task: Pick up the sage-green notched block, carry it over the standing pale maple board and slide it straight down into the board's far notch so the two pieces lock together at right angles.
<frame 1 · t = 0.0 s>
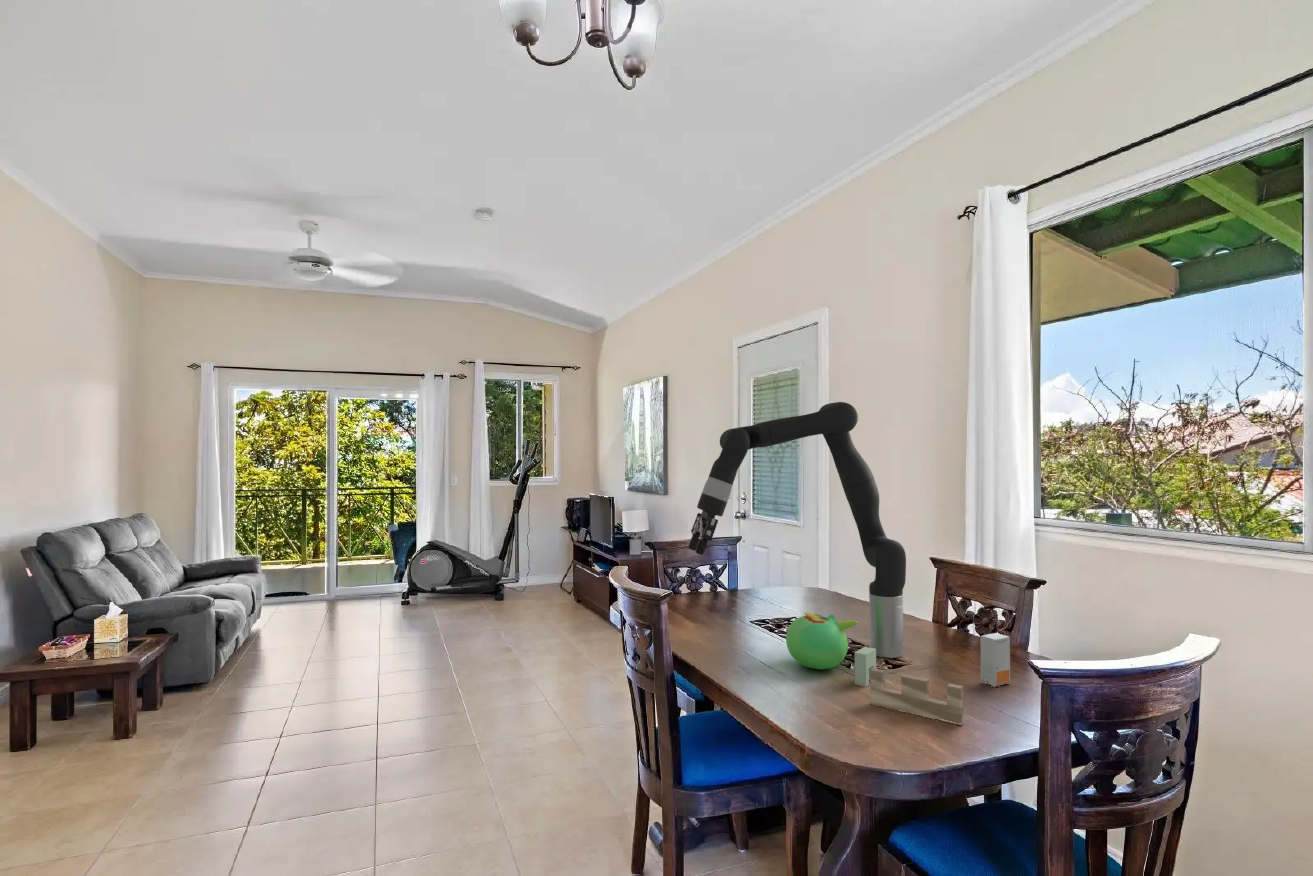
hand: (695, 551, 189), 31 cm above the table, tool tilted 20°, fingers open, 8 cm apart
notched block: (865, 682, 174), on the table
maple board: (915, 713, 154), on the table
toy bird: (818, 667, 187), on the table
skincare box: (995, 684, 172), on the table
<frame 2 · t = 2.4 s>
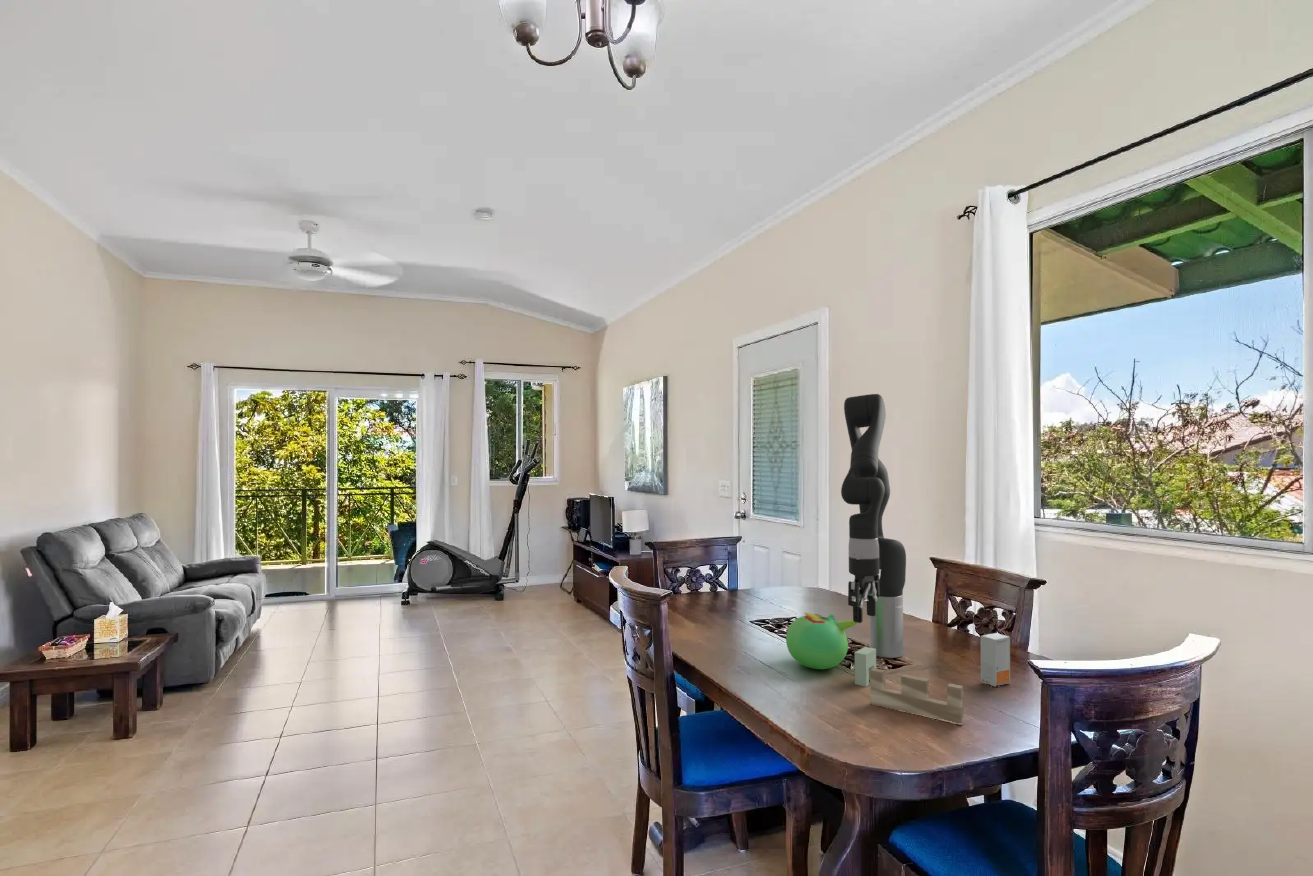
hand: (864, 619, 175), 16 cm above the table, tool pointing down, fingers open, 8 cm apart
nothing on the table moved.
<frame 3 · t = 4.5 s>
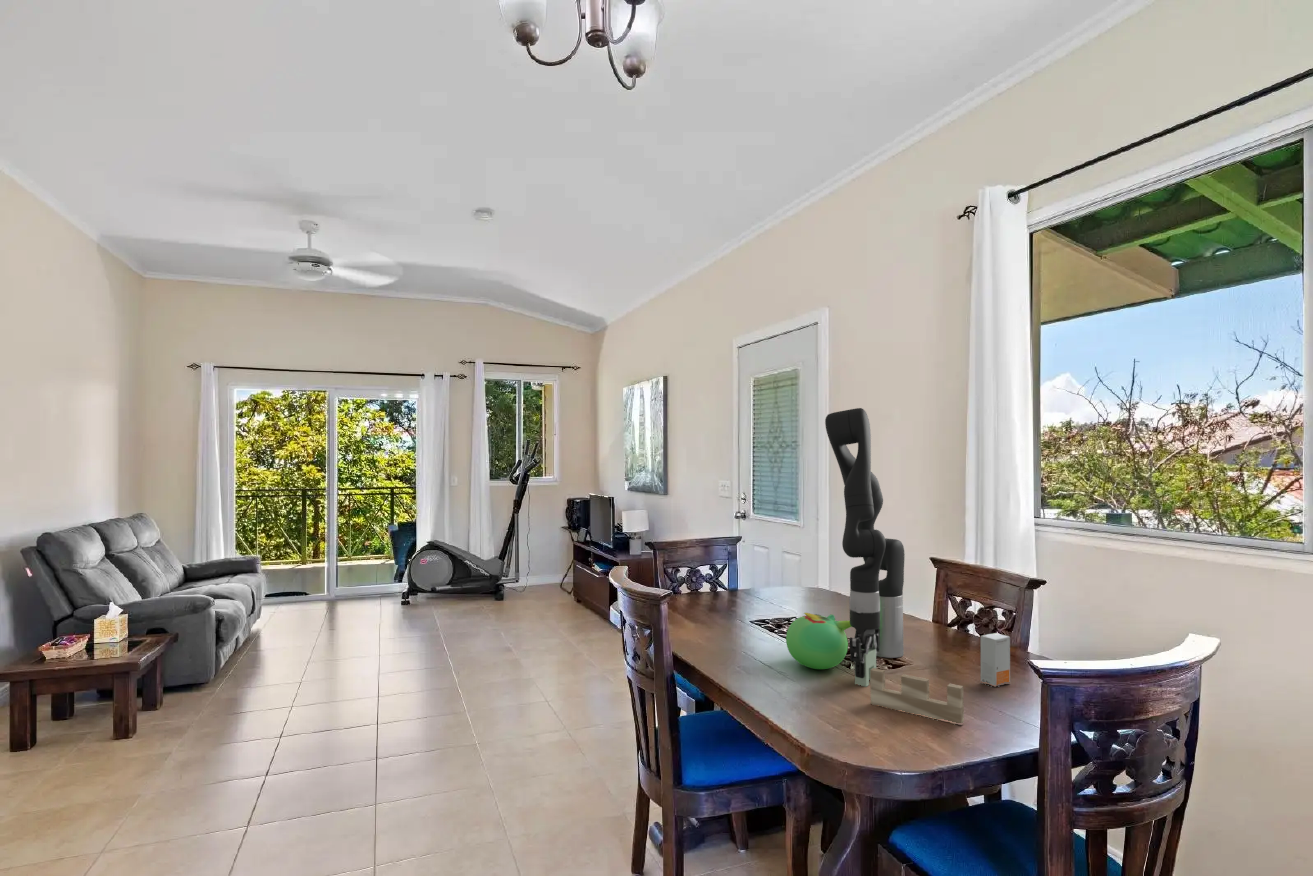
hand: (865, 673, 174), 2 cm above the table, tool pointing down, fingers closed on notched block, 6 cm apart
notched block: (865, 682, 174), on the table, touching gripper
everything else where it was.
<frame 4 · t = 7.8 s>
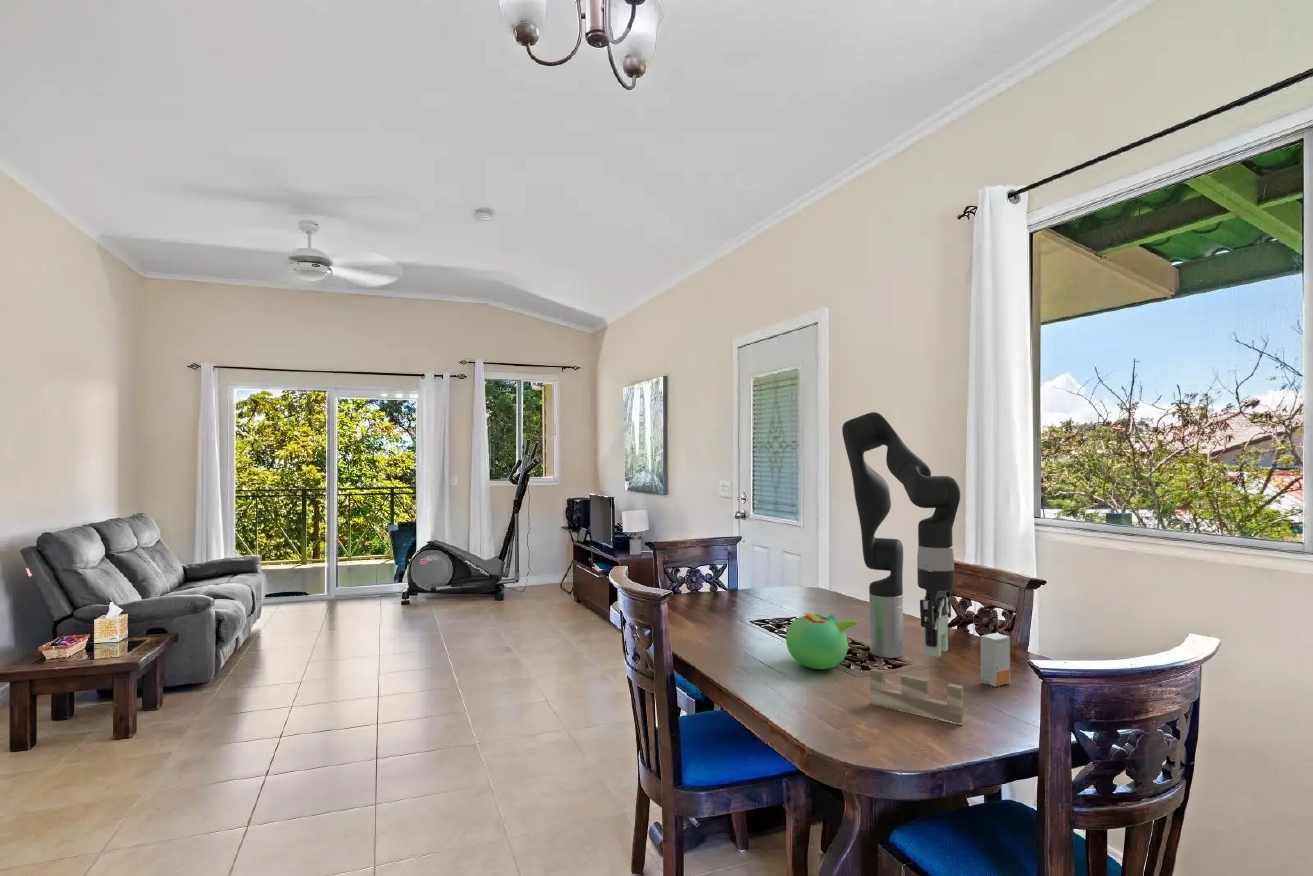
hand: (936, 642, 151), 17 cm above the table, tool pointing down, fingers closed on notched block, 6 cm apart
notched block: (936, 652, 151), point 15 cm above the table, touching gripper
everything else where it was.
when the fingers open (3 cm above the table, at t = 11.2 s): notched block stays where it is, on the table.
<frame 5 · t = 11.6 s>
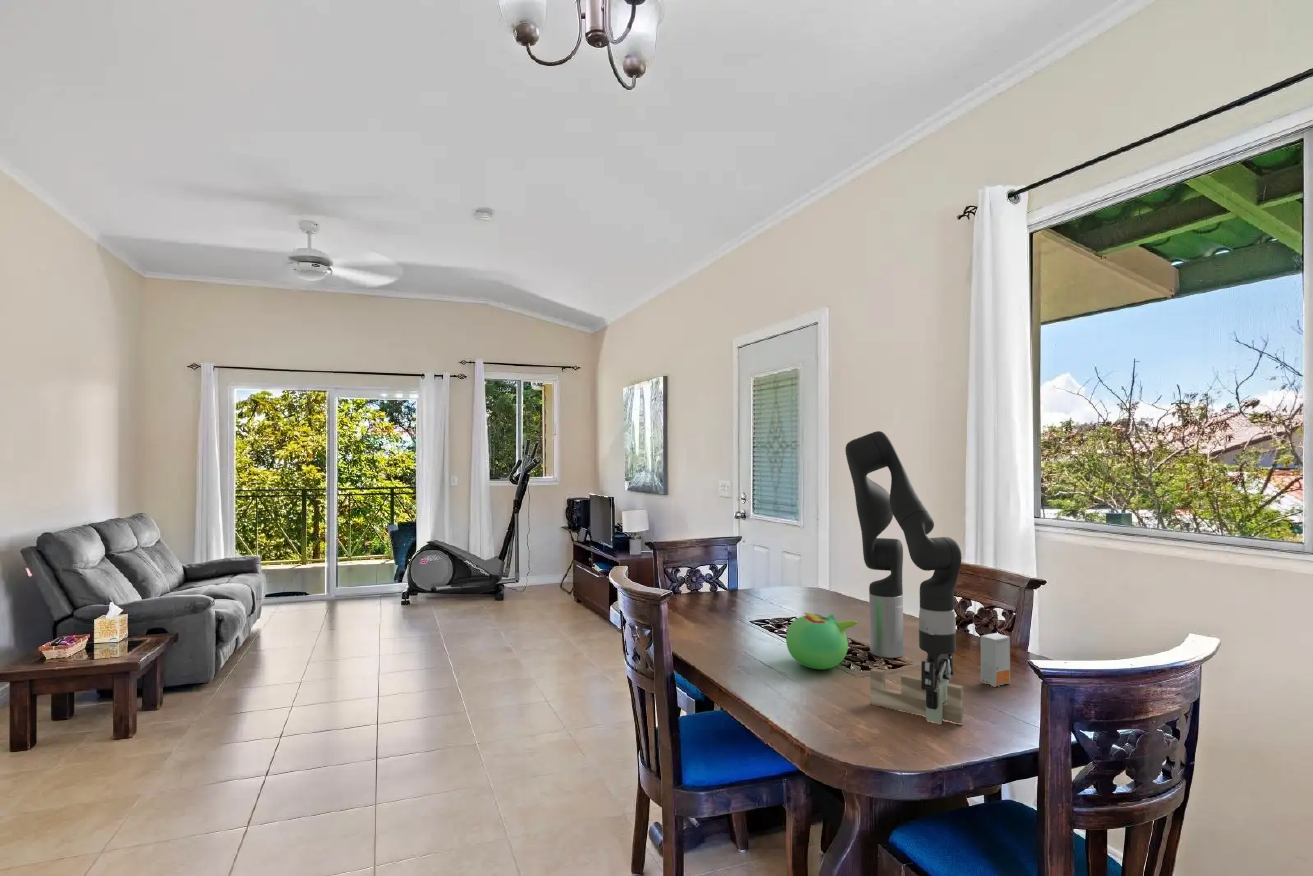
hand: (938, 702, 150), 4 cm above the table, tool pointing down, fingers open, 8 cm apart
notched block: (938, 719, 150), on the table
everything else where it was.
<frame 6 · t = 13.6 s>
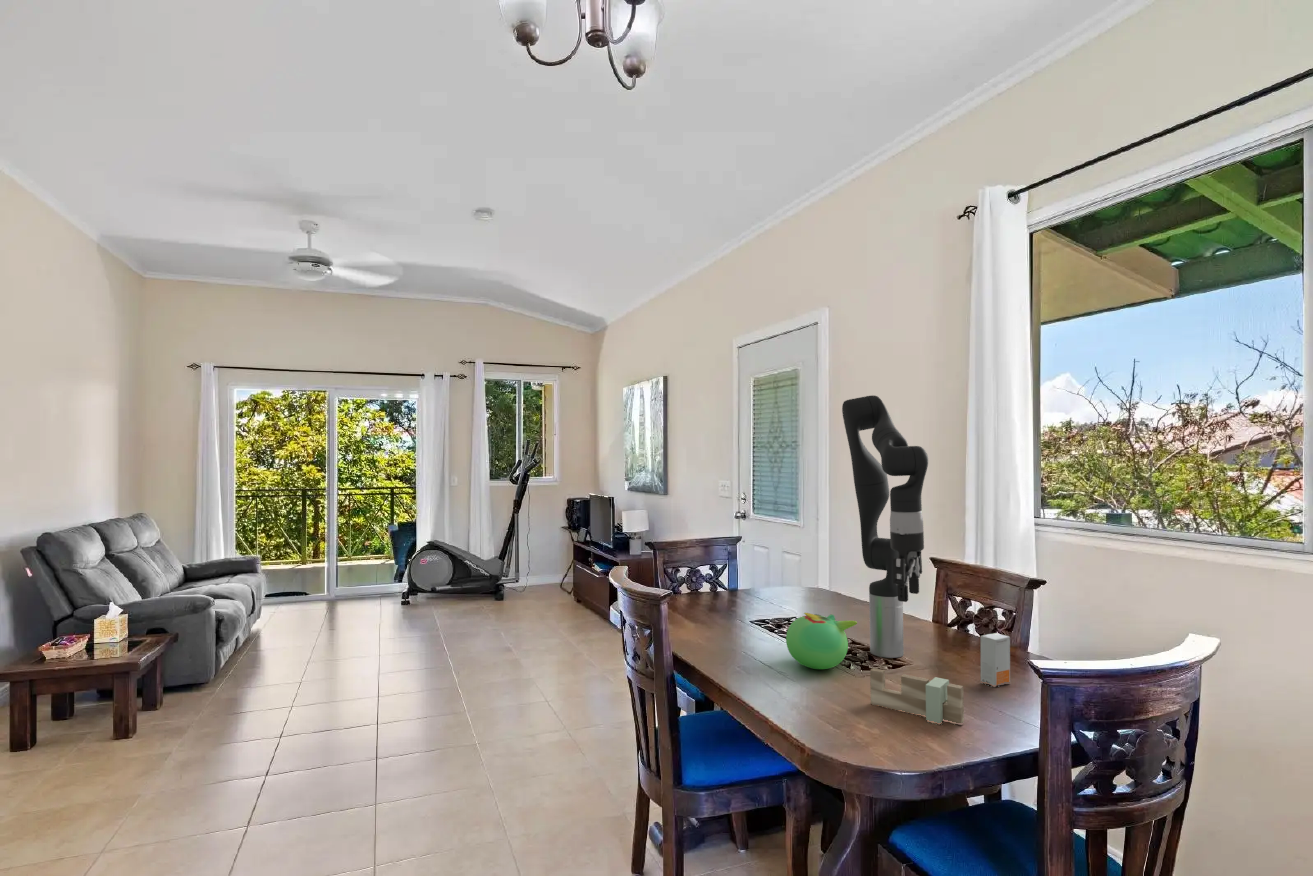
hand: (908, 597, 164), 24 cm above the table, tool pointing down, fingers open, 8 cm apart
nothing on the table moved.
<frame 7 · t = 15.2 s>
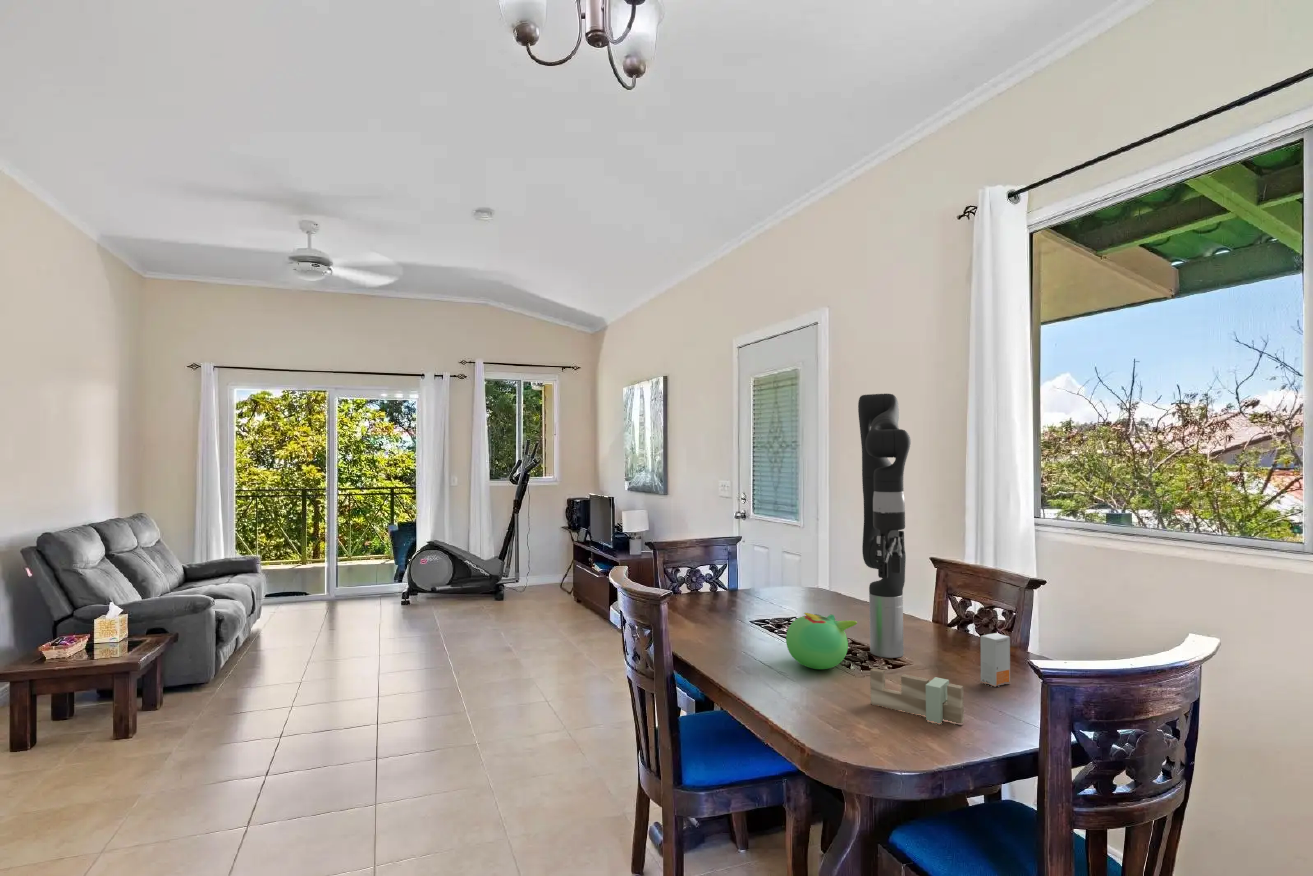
hand: (889, 575, 170), 28 cm above the table, tool pointing down, fingers open, 8 cm apart
nothing on the table moved.
at the end: notched block 0.1 cm from the target spot on the maple board, point 0.0 cm above the maple board's base; notched block tilted 0°; the gripper is holding nothing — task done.
